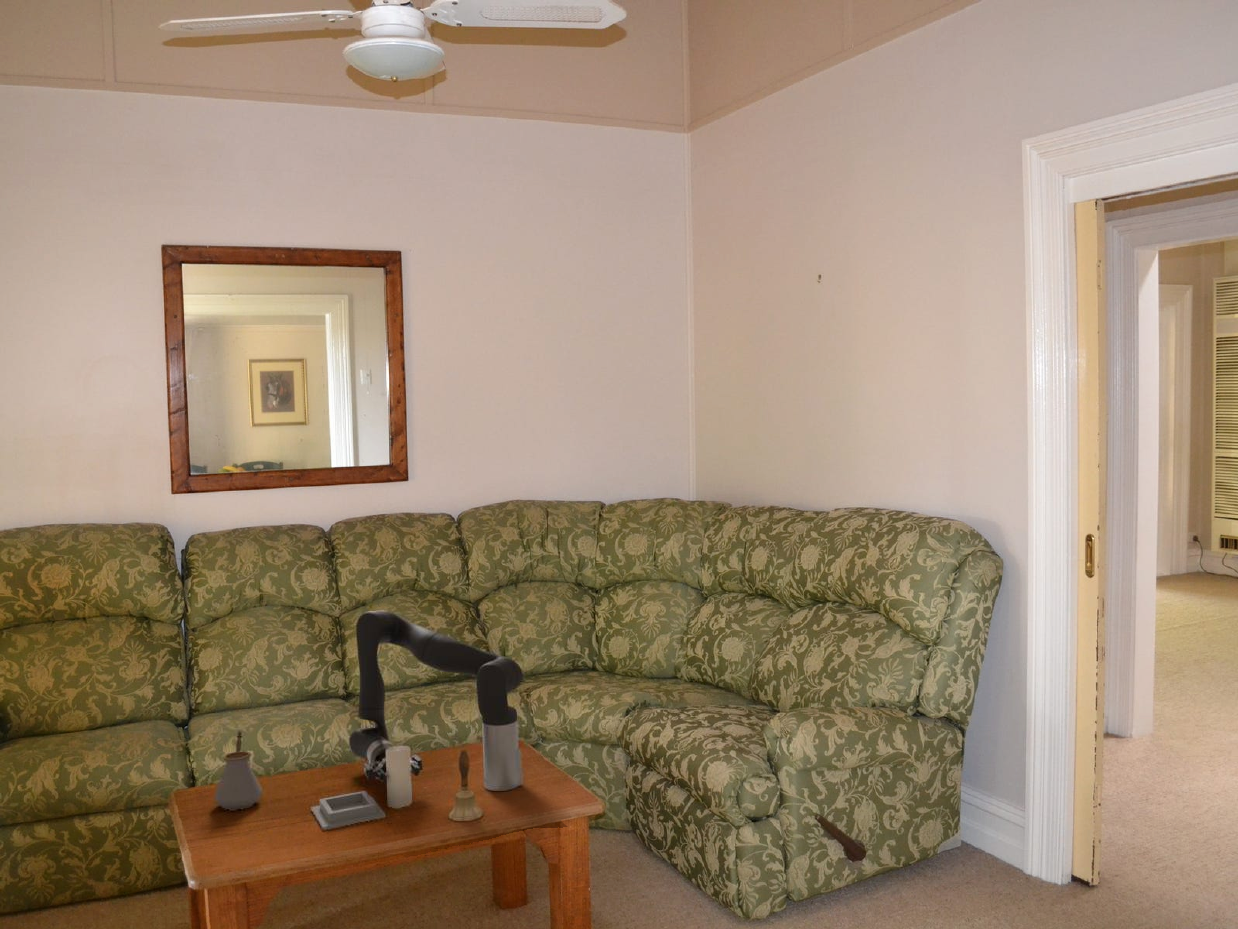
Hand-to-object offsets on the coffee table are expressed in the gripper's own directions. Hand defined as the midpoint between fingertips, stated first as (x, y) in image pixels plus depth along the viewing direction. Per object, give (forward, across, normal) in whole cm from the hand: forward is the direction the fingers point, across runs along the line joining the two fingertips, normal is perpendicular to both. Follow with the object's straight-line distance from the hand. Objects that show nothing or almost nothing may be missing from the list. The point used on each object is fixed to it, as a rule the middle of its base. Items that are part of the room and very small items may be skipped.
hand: (400, 775), depth 263 cm
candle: (-2, 0, +8) cm, 8 cm away
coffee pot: (-28, -35, +8) cm, 46 cm away
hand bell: (+14, +12, +8) cm, 20 cm away
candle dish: (-2, -13, +8) cm, 15 cm away
